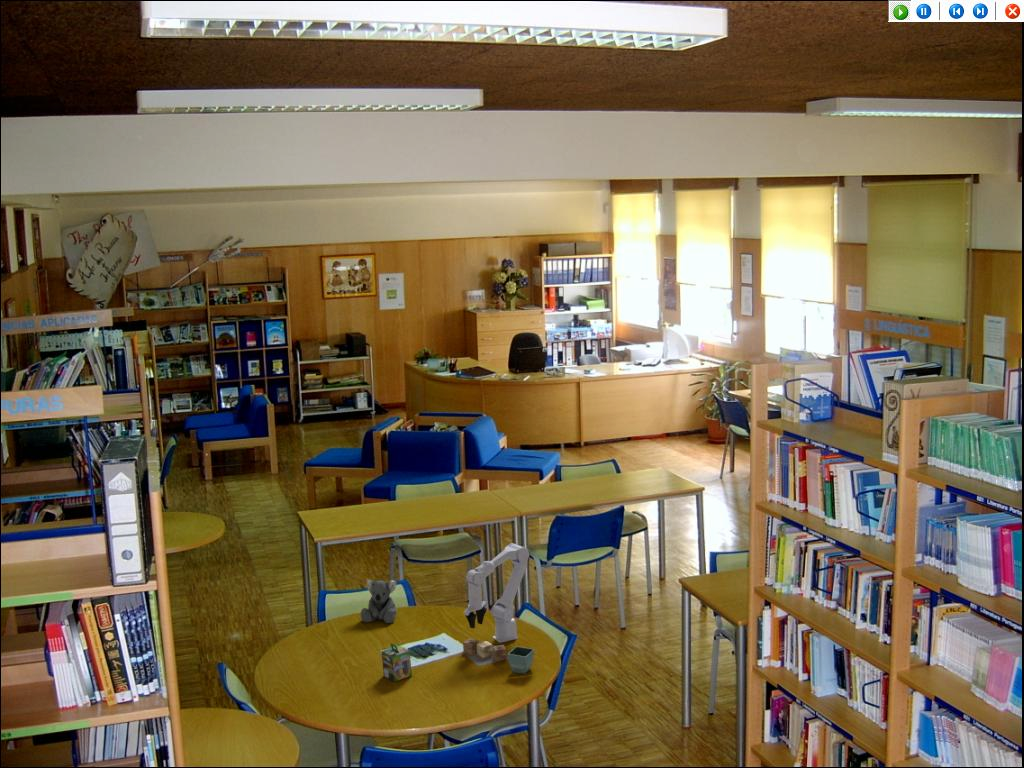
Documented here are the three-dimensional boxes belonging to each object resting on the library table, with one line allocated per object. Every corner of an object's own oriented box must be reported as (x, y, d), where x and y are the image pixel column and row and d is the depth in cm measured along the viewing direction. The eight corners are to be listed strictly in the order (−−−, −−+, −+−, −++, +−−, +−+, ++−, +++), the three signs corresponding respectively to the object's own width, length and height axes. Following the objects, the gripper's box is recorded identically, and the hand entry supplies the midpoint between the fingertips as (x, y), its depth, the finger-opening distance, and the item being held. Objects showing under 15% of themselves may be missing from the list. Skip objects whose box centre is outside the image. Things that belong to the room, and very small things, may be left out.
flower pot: (535, 668, 467) (534, 648, 465) (527, 676, 459) (526, 656, 457) (516, 665, 470) (515, 646, 469) (508, 674, 463) (507, 654, 461)
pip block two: (471, 648, 490) (470, 638, 489) (479, 651, 486) (478, 640, 486) (463, 652, 486) (463, 641, 485) (471, 655, 483) (471, 644, 482)
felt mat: (492, 645, 493) (492, 644, 493) (509, 659, 477) (509, 658, 477) (462, 652, 487) (462, 651, 487) (478, 667, 471) (478, 666, 471)
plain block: (486, 651, 486) (486, 640, 485) (492, 655, 482) (492, 644, 481) (477, 654, 483) (476, 643, 482) (483, 658, 479) (483, 647, 478)
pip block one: (504, 655, 481) (504, 644, 480) (506, 660, 476) (505, 649, 475) (493, 656, 480) (492, 645, 479) (495, 661, 475) (494, 650, 474)
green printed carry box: (412, 676, 465) (410, 643, 462) (394, 682, 459) (392, 649, 457) (400, 669, 472) (398, 637, 469) (382, 676, 466) (380, 643, 464)
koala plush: (359, 623, 527) (356, 585, 523) (369, 610, 544) (367, 572, 541) (393, 624, 524) (391, 585, 520) (403, 610, 541) (401, 573, 538)
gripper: (477, 590, 496) (478, 619, 498) (458, 600, 484) (459, 629, 486) (490, 593, 492) (491, 621, 494) (470, 602, 480) (472, 632, 482)
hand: (476, 625), depth 490 cm, fingers open, 5 cm apart
